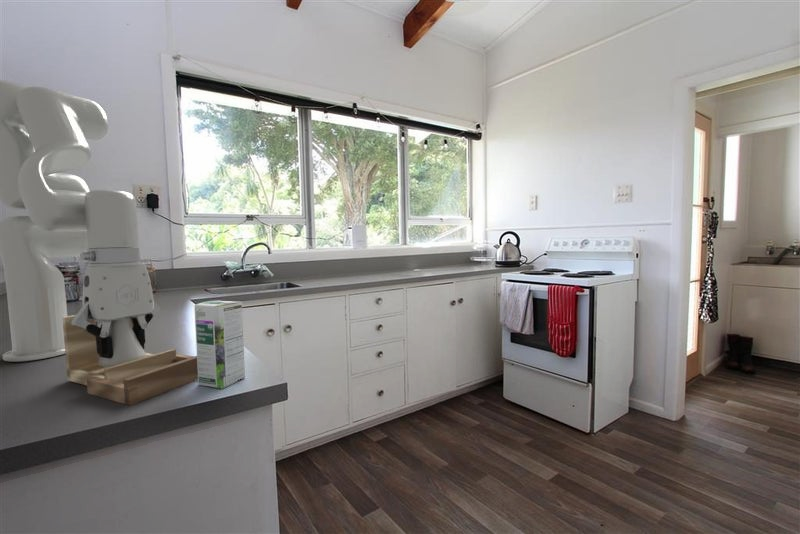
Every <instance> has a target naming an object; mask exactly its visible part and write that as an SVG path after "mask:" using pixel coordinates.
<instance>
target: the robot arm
mask: <svg viewBox="0 0 800 534" xmlns="http://www.w3.org/2000/svg"><path fill="white" fill-rule="evenodd" d="M20 126H24V128H25V130H26V131H25V130H24V129H23V128H22V127H20ZM108 130H109V120H108V116H107V114H106V111H104V109H103V108H102V106H101V105H100V104H98V103H97V102H95V101H94V100H91V99H88V98H85V97H81V96H78V95H73V94H70V93H67V92H63V91H59V90H55V89H52V88H49V87H42V86H28V85H23V84H19V83H16V82H12V81H7V80H2V79H0V202H1V204H2V205H3V206H5V207H6V208H8V209H10V210H16V211H24V212H25V211H26V212H27V215H18V216H17V215H16V216H10V217H9V216H8V217H6V218H3V219H1V220H0V260H1V262H2V266H3V267H2V268H3V272H4V273H3V274H4V280H5V282H4V283H5V289H6V297H7V299H6V300H7V308H8V317H9V327H10V338H11V348H12V349H11V350H8V351H6V352H4V353H3V354H2V360H3V361H4V362H9V363H10V362H14V363H15V362H16V363H17V362H28V361H29V362H30V361H38V360H43V359H48V358H49V359H50V358H54V357H58V356H61V355H65V344H64V333H63V321H62V317H66V316H68V309H67V298H66V297H67V296H66V295H67V294H66V285H65V279H64V278H65V277H64V274H63V272H62V271H61V270H60V269H59V268H58V267H57V266H56V265H55V264H54V263H52V262H51V261H50V260H49V259H55V258H72V257H73V258H75V257H79V258H80V259H81V261H87V262H88V264H89V266H88V265H87V266H85V270H84V274H83V281H82V282H83V283H82V297H81V298H82V306H81V308H80V310H78V312H77V313H76V314H75V315H76V316H75V317H74V319H73V320H72V322H71V324H72V325H74V326H77V327H79V328H82V329H84V330H85V331H87V332H89V333H90V334H92V335H93V336H95V337H96V346H97V353H98V354H99V356H100V357H103V358H108V359H109V358H112V356H113V346H112V337H111V336H108V332H109V327H110V323H111V321H112V320H118V319H124V318H130V320H131V323H132V325H133V328H132V330H133V332H134V333H135V335H136V337H137V339H138V341H139V343H140V344H141V346H142V348H143V349H144V350H145V348H146V347H145V344H146V334H145V330H146V329H147V327H148V324H149V323H150V322H151V320H152V319H153V317H154V316H155V315H156V314H157V313H159V312H160V310H161V307H160V306H159V305H158V303H156V301H155V300H154V293H153V286H152V284H151V283H152V282H151V278H150V274H149V271H148V267H147V265H146V263H141V256H140V255H141V254H140V241H139V240H140V239H139V238H140V237H139V225H138V211H137V201H136V198H135V196H134V195H133V193H130V192H127V191H124V190H118V189H117V190H115V189H94V190H91V189H90V187H89V186H88V184H87V182H86V181H85V180H84V179H82V177H80V176H78V175H74V174H72V173H64V172H67V171H73V170H76V169H78V168H81V167H82V166H85V165H86V164H87V163H88V162H89V161H90V160H91V157H92V149H91V146H90V145H89V143H88V140H93V141H95V140H96V141H98V140H101V139H103V138H104V137H105V136H106V135H107V133H108ZM87 319H89V320H95V322H94V324H91V323H89V322H87Z"/></svg>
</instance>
